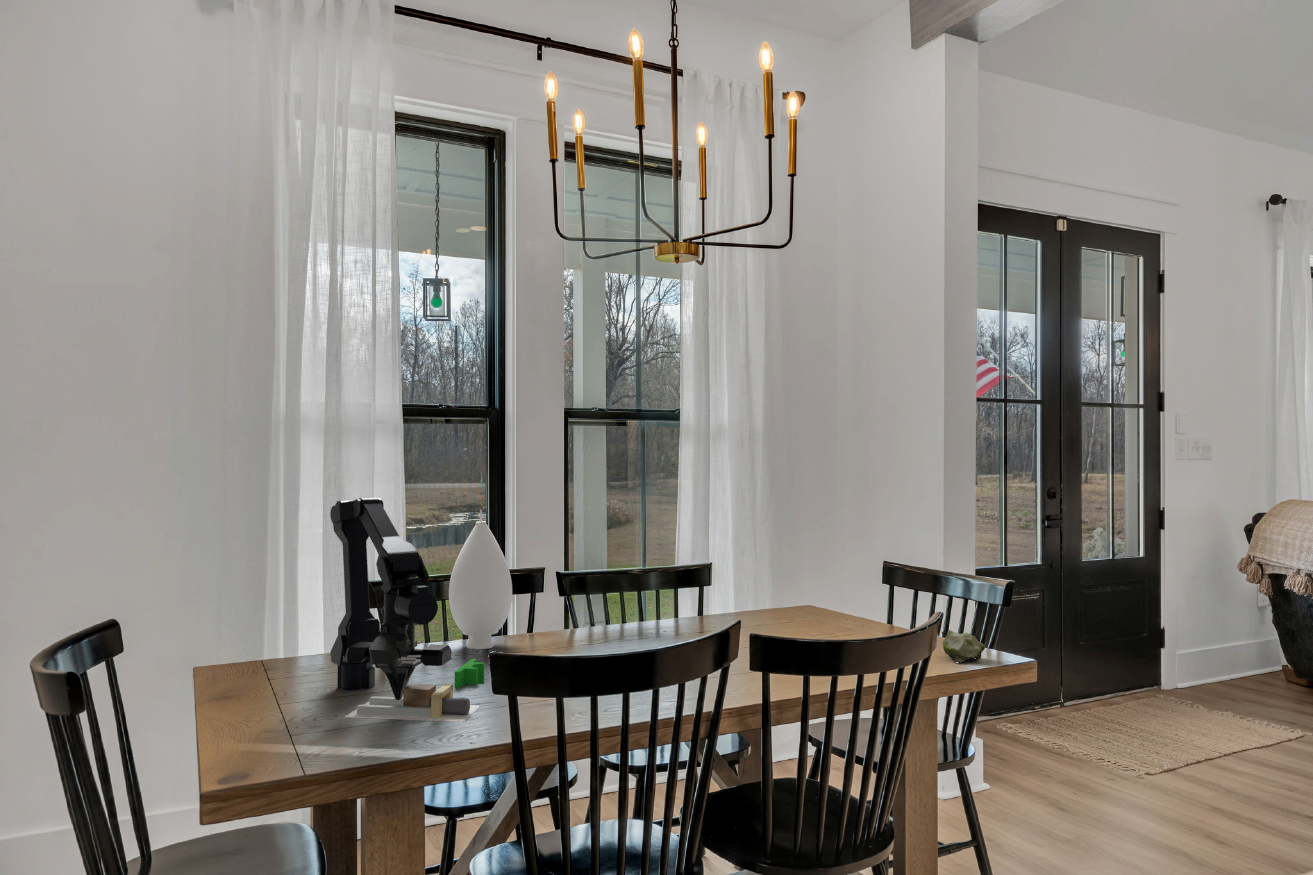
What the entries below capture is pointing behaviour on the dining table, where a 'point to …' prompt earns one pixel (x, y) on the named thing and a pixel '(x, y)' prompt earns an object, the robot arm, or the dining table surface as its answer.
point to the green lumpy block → (962, 646)
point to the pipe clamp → (470, 674)
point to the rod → (454, 706)
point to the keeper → (418, 695)
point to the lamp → (480, 588)
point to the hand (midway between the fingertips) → (398, 699)
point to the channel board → (410, 708)
